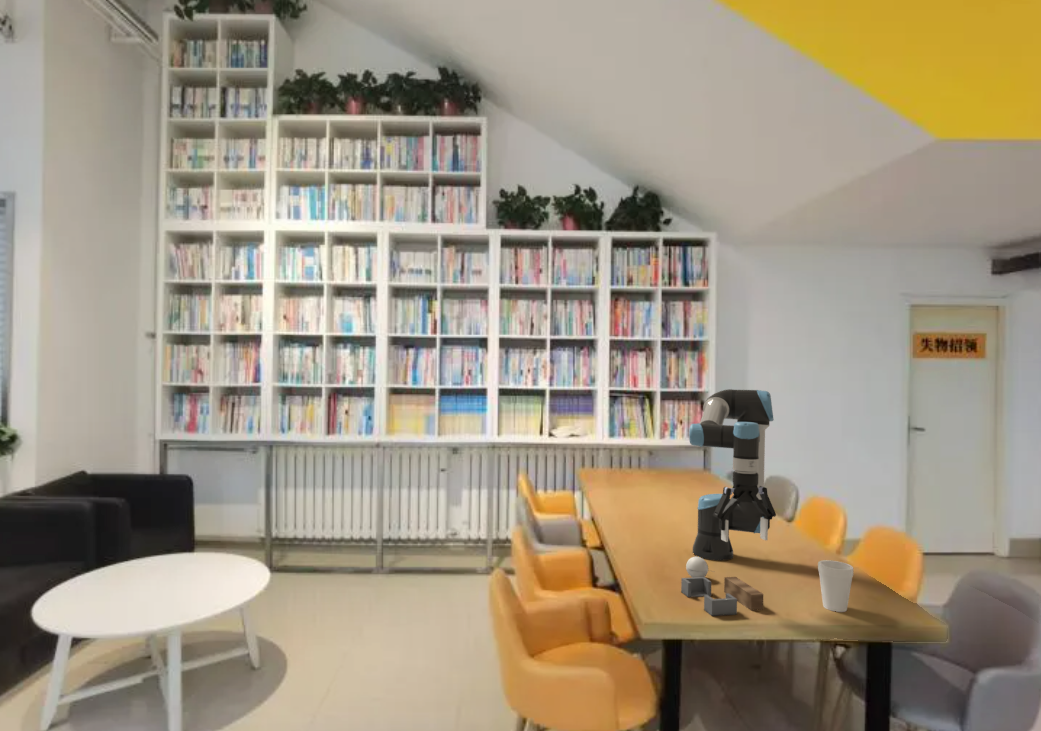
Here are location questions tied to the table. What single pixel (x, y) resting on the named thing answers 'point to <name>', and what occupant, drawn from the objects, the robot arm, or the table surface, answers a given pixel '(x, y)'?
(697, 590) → the cap
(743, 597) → the slat
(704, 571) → the ball
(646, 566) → the table surface
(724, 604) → the cap
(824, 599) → the foam cup
